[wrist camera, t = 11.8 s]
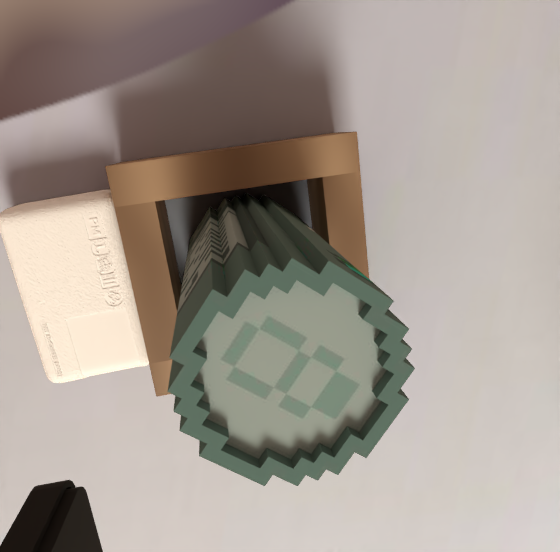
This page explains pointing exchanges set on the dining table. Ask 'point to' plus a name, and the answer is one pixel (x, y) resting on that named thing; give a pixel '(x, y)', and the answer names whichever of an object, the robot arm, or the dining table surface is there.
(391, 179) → the dining table surface
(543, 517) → the dining table surface
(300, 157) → the socket
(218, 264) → the can
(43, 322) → the soap
